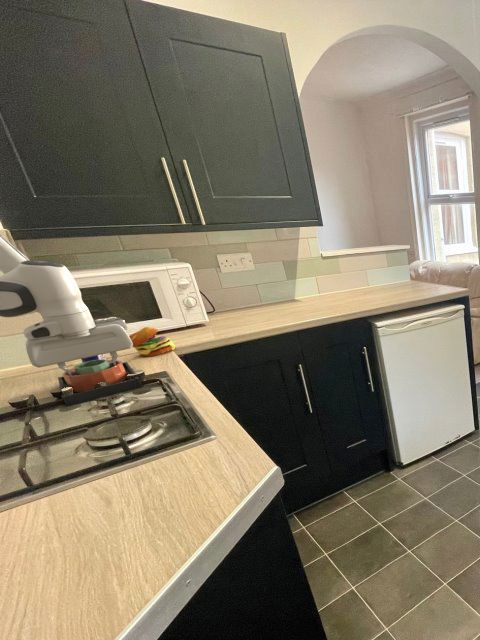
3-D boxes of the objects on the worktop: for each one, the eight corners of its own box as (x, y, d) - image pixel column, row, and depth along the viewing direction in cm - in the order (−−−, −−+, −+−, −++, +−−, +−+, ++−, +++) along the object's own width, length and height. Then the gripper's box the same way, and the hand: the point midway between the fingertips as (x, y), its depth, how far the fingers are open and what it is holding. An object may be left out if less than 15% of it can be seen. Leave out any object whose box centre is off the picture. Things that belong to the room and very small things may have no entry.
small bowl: (82, 385, 112) (74, 370, 110) (80, 379, 116) (72, 364, 115) (115, 377, 117) (108, 362, 115) (112, 372, 121) (105, 357, 119)
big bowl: (74, 399, 110) (64, 380, 107) (70, 387, 117) (61, 369, 115) (132, 384, 118) (124, 366, 115) (125, 374, 125) (118, 357, 123)
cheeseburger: (174, 352, 142) (154, 326, 137) (139, 366, 138) (117, 340, 133) (178, 344, 150) (160, 319, 145) (145, 357, 146) (125, 332, 141)
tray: (66, 406, 106) (61, 397, 105) (62, 385, 119) (57, 377, 118) (142, 386, 116) (138, 378, 115) (130, 369, 129) (126, 361, 128)
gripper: (120, 313, 119) (140, 359, 125) (15, 330, 105) (42, 381, 111) (123, 316, 115) (143, 363, 121) (15, 335, 101) (43, 387, 107)
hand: (94, 372), depth 116 cm, fingers closed on small bowl, 7 cm apart
